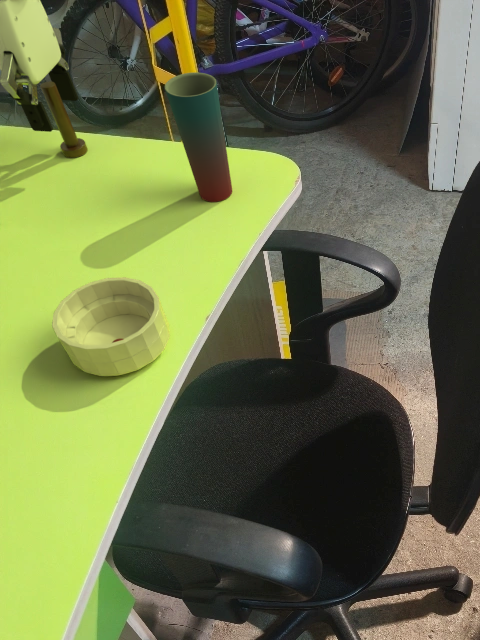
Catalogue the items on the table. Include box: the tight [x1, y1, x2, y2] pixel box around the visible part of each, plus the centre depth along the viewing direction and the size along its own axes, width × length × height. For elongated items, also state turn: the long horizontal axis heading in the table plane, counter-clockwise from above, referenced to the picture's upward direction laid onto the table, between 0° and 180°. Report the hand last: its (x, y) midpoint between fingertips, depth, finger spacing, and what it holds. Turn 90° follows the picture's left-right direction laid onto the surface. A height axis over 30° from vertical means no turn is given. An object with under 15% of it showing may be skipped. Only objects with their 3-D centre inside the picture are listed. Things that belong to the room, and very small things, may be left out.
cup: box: [164, 71, 233, 203], centre depth 83 cm, size 7×7×15 cm
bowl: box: [51, 276, 171, 377], centre depth 70 cm, size 12×12×5 cm
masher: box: [39, 80, 89, 159], centre depth 93 cm, size 4×4×10 cm
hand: (56, 114), depth 92 cm, fingers open, 9 cm apart
